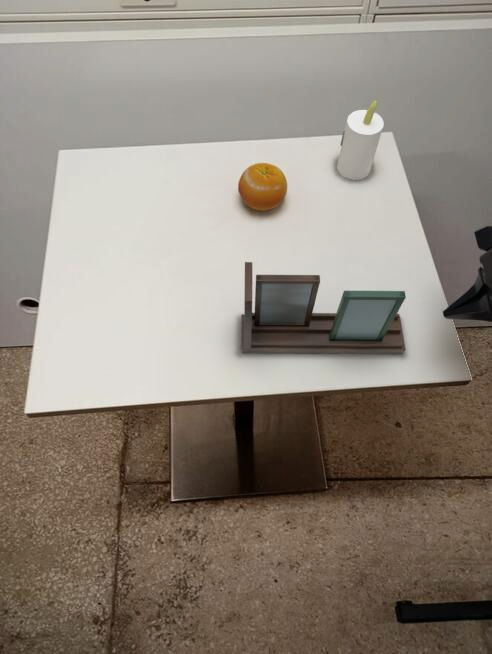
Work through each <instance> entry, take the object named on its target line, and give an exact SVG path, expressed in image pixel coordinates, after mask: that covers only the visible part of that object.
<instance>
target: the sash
mask: <svg viewBox="0 0 492 654" xmlns="http://www.w3.org/2000/svg"><path fill="white" fill-rule="evenodd" d="M406 297H407V296H406V291H405V290H343V292H342V296H341V298H340V302H339V305H338V307H337V310H336V312H335V313H336V316H335V319H334V322H333V325H332V328H331V331H330V334H329V341H382V340H383V338H384V336H385V334H386V333H387V331H388V329H389V327H390V325H391V323H392V322H393V320H394V318H395V316H396V314H398V312H399V311H400V309H401V307H402V305H403V304H404V302H405V300H406Z"/></svg>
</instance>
